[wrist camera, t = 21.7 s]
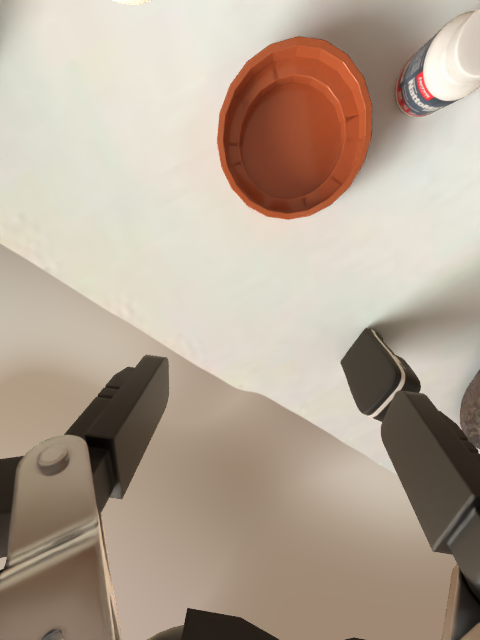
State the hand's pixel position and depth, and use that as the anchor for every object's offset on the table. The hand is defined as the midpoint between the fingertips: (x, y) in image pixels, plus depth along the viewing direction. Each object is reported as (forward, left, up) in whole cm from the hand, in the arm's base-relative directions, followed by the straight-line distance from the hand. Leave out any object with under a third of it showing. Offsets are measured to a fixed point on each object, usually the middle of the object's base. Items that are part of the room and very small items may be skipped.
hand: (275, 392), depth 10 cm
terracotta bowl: (-4, +11, -28) cm, 30 cm away
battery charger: (+18, -6, -28) cm, 34 cm away
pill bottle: (+5, +20, -28) cm, 35 cm away
